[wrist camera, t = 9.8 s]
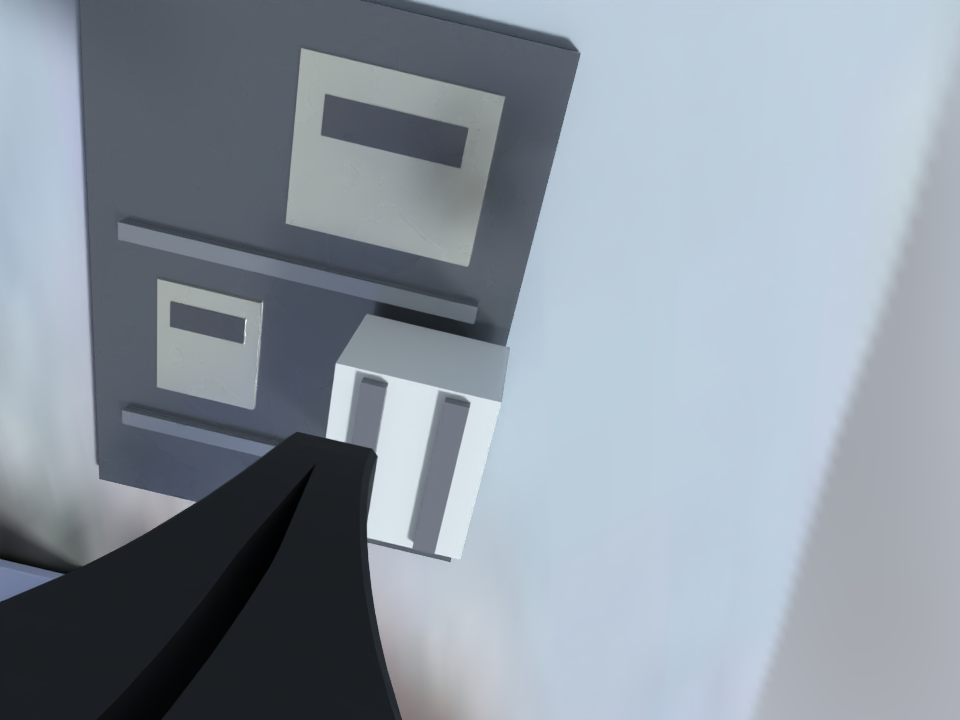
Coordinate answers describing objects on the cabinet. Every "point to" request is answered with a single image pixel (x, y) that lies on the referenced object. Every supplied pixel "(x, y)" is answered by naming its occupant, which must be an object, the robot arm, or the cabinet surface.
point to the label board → (292, 210)
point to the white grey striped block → (419, 426)
